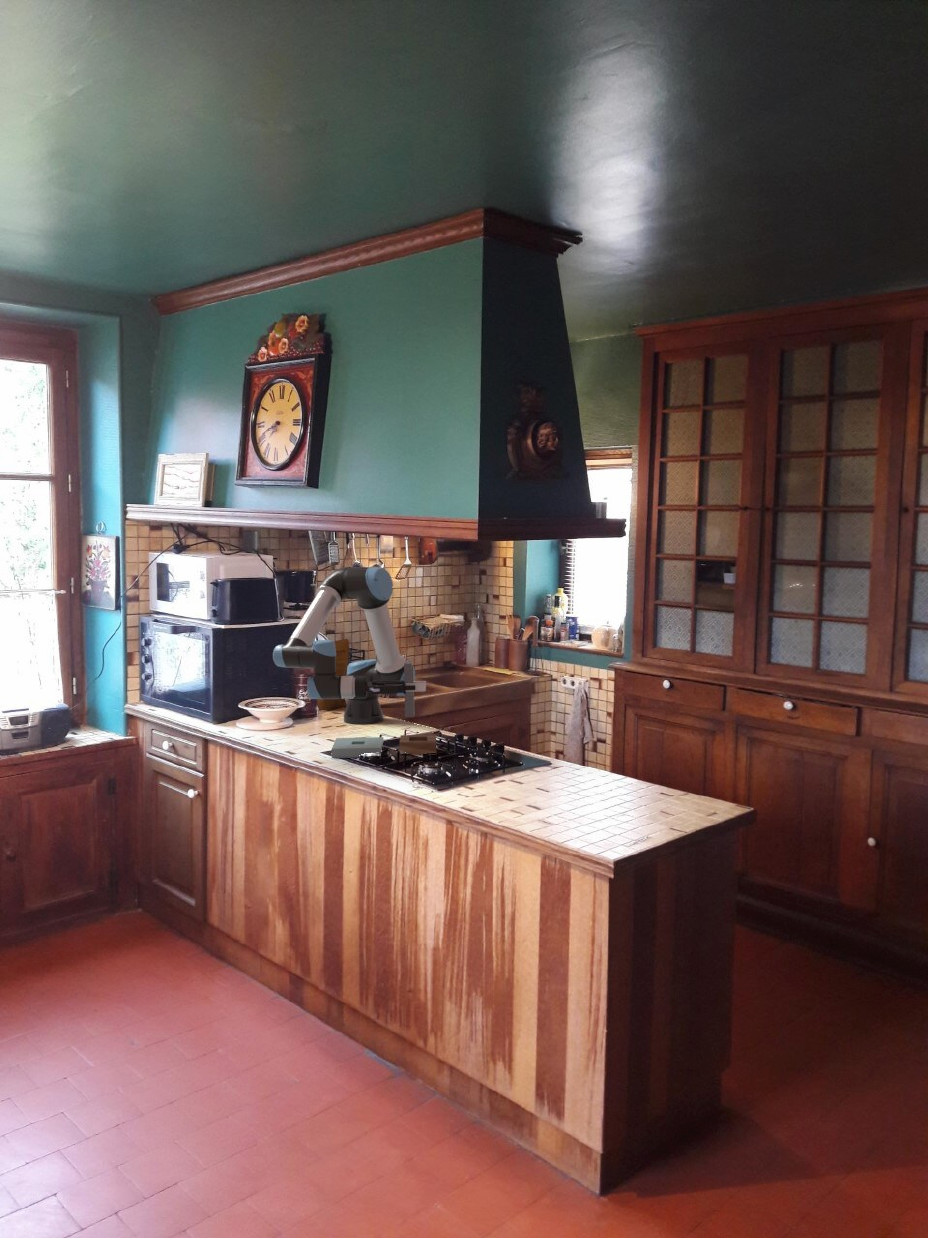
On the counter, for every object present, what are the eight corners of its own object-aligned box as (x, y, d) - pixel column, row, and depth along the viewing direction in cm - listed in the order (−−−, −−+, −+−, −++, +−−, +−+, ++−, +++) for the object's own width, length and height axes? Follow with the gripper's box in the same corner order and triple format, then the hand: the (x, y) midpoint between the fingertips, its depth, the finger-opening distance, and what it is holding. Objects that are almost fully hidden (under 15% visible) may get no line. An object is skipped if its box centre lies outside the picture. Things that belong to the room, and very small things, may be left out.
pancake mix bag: (356, 705, 415) (354, 638, 412) (322, 712, 400) (321, 643, 397) (344, 703, 419) (342, 637, 416) (311, 711, 404) (309, 642, 401)
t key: (405, 713, 335) (404, 659, 333) (414, 713, 335) (413, 659, 333) (404, 719, 325) (403, 663, 323) (413, 719, 325) (412, 663, 323)
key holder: (400, 746, 338) (400, 735, 338) (436, 746, 338) (436, 734, 338) (399, 755, 326) (399, 743, 326) (436, 754, 327) (436, 742, 326)
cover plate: (336, 746, 340) (336, 738, 339) (383, 745, 340) (383, 737, 340) (331, 757, 324) (331, 748, 323) (381, 756, 324) (380, 747, 324)
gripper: (357, 694, 338) (426, 693, 338) (352, 703, 322) (425, 701, 322) (356, 672, 337) (426, 671, 337) (352, 680, 321) (424, 678, 321)
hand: (425, 686), depth 329 cm, fingers closed on t key, 3 cm apart
